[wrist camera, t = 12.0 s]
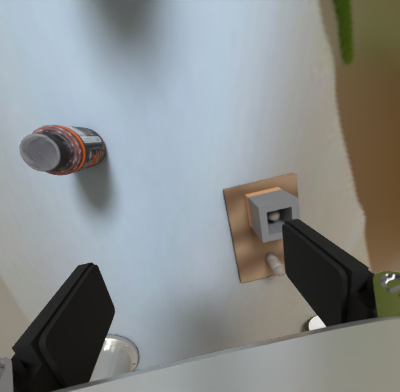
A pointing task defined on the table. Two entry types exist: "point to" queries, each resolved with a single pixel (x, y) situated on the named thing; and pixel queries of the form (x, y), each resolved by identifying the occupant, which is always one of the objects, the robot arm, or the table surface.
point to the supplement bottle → (62, 149)
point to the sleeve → (266, 203)
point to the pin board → (247, 238)
